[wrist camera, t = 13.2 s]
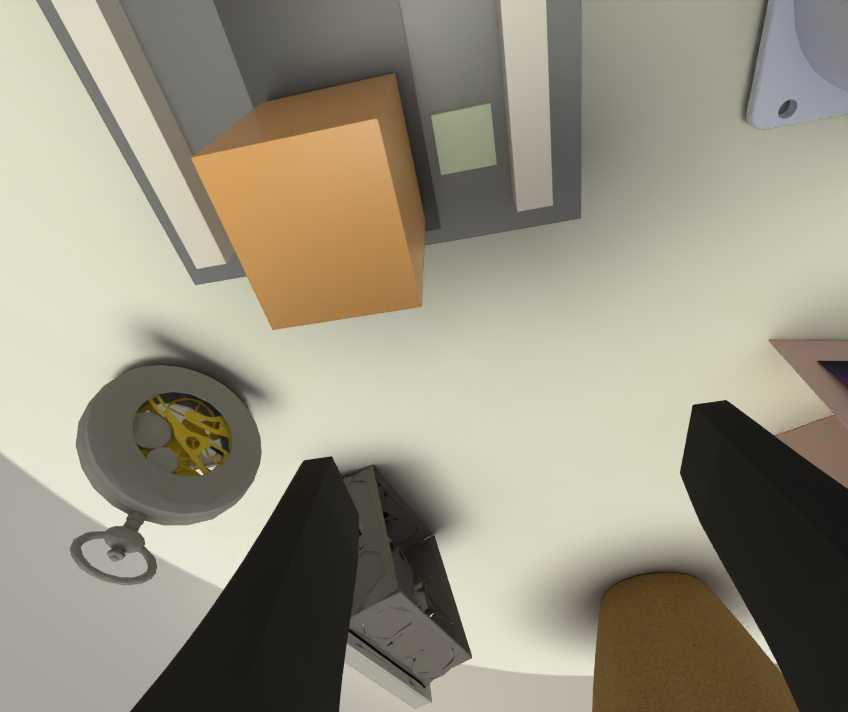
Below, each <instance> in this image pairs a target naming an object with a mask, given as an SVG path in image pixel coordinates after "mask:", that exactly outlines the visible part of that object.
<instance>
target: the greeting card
mask: <svg viewBox="0 0 848 712" xmlns="http://www.w3.org/2000/svg"><path fill="white" fill-rule="evenodd" d="M769 342H770V343H771V344H772V345H773V346H774V347H775V348H776V350H777V351H778V352H779V353H780V354H781V355H782V356H783V357H784V358H785V360H786V361H787V362H788V363H789V364H790V365H791V366H792V367H793V369H794V370H795V371H796V372H797V373H798V374H799V375H800V376H801V377H802V379H803V380H804V381H805V382H806V383H807V384H808V385H809V386H810V388H811V389H812V390H813V391H814V392H815V393H816V394H817V395H818V396H819V398H820V399H821V400H822V401H823V402H824V403H825V404H826V405H827V407H828V408H829V409H830V410H831V411H832V412H833V413H834V414H835V415H833V416H830V417H827V418H824V419H821V420H818V421H816V422H813V423H810V424H807V425H804V426H801V427H799V428H796V429H793V430H790V431H787V432H784V433H782V434H779V435H776V436H775V437H777V438H778V439H779V440H781V441H782V442H783V443H785V444H786V445H788V446H789V447H790V448H792V449H793V450H794V451H796V452H797V453H798V454H800V455H801V456H802V457H804V458H805V459H807V460H808V461H809V462H811V463H812V464H814V465H815V466H816V467H818V468H819V469H821V470H822V471H823V472H825V473H826V474H828V475H829V476H831V477H832V478H833V479H835V480H836V481H838V482H839V483H841V484H842V485H843V486H845V487H846V488H848V340H769Z"/></svg>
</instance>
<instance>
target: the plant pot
mask: <svg viewBox="0 0 848 712" xmlns="http://www.w3.org/2000/svg"><path fill="white" fill-rule="evenodd" d="M592 712H799V710H798V707H797V705H796V703H795V701H794V699H793V696H792V694H791V692H790V690H789V687H788V685H787V683H786V681H785V679H784V676H783V675H782V673H781V672H780V671H779V670H778V669H777V667H776V666H775V665H774V664H773V662H772V661H771V660H770V659H769V657H768V656H767V655H766V654H765V652H764V651H763V650H762V649H761V647H760V646H759V645H758V644H757V642H756V641H755V640H754V639H753V638H752V636H751V635H750V634H749V633H748V632H747V630H746V629H745V628H744V627H743V626H742V624H741V623H740V622H739V621H738V620H737V619H736V617H735V616H734V615H733V614H732V613H731V612H730V611H729V609H728V608H727V607H726V606H725V605H724V604H723V603H722V602H721V600H720V599H719V598H718V597H717V596H716V595H715V594H714V593H713V592H712V590H711V589H710V588H709V587H708V586H707V585H706V584H705V583H704V582H702V581H701V580H699V579H697V578H695V577H692V576H689V575H685V574H679V573H652V574H645V575H640V576H636V577H633V578H629V579H627V580H624V581H622V582H620V583H618V584H616V585H614V586H613V587H611V588H610V589H609V590H608V591H607V592H606V593H605V594H604V596H603V598H602V601H601V608H600V615H599V624H598V632H597V643H596V653H595V668H594V685H593V708H592Z"/></svg>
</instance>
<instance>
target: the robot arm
mask: <svg viewBox="0 0 848 712" xmlns="http://www.w3.org/2000/svg"><path fill="white" fill-rule="evenodd" d="M788 100H790V105H789V107H788V109H787V110H786V111H785V112H784V113H783V114H781V115H779V116H778V110H779V108H780V106H781V105H782V104H783V103H784V102H785V101H788ZM845 114H848V0H769V1H768V6H767V11H766V16H765V21H764V27H763V32H762V37H761V42H760V47H759V52H758V57H757V62H756V67H755V73H754V78H753V83H752V88H751V93H750V98H749V103H748V108H747V121H748V123H749V125H751V126H753V127H755V128H757V129H761V130H765V129H771V128H776V127H781V126H787V125H792V124H797V123H803V122H808V121H813V120H819V119H824V118H829V117H835V116H840V115H845ZM680 475H681V477H682V480H683V482H684V485H685V487H686V490H687V492H688V495H689V497H690V500H691V502H692V505H693V507H694V509H695V512H696V514H697V516H698V519H699V521H700V523H701V525H702V527H703V529H704V531H705V532H706V534H707V536H708V538H709V540H710V542H711V543H712V545H713V547H714V549H715V551H716V552H717V554H718V556H719V558H720V560H721V561H722V563H723V565H724V567H725V569H726V570H727V572H728V574H729V576H730V578H731V579H732V581H733V583H734V585H735V586H736V588H737V590H738V592H739V594H740V595H741V597H742V599H743V601H744V602H745V604H746V606H747V608H748V610H749V611H750V613H751V615H752V617H753V618H754V620H755V622H756V624H757V626H758V627H759V629H760V631H761V633H762V634H763V636H764V638H765V640H766V642H767V644H768V646H769V648H770V650H771V652H772V654H773V656H774V658H775V659H776V661H777V663H778V665H779V667H780V670H781V672H782V674H783V676H784V679H785V681H786V683H787V685H788V687H789V690H790V692H791V694H792V696H793V699H794V701H795V703H796V705H797V707H798V710H799V712H848V488H846V487H845V486H843V485H842V484H841V483H839V482H838V481H836V480H835V479H833V478H832V477H831V476H829V475H828V474H826V473H825V472H823V471H822V470H821V469H819V468H818V467H816V466H815V465H814V464H812V463H811V462H809V461H808V460H807V459H805V458H804V457H802V456H801V455H800V454H798V453H797V452H796V451H794V450H793V449H792V448H790V447H789V446H788V445H786V444H785V443H783V442H782V441H781V440H779V439H778V438H777V437H775V436H774V435H773V434H771V433H770V432H769V431H767V430H766V429H765V428H763V427H762V426H761V425H759V424H758V423H757V422H755V421H754V420H753V419H751V418H750V417H748V416H747V415H746V414H744V413H743V412H742V411H740V410H739V409H738V408H736V407H735V406H734V405H732V404H731V403H730V402H728V401H727V400H723V401H716V402H709V403H702V404H695V405H693V406H692V412H691V417H690V422H689V428H688V433H687V438H686V444H685V449H684V454H683V459H682V465H681V470H680ZM358 546H359V513H358V511H357V509H356V507H355V505H354V503H353V500H352V498H351V496H350V494H349V492H348V490H347V487H346V485H345V483H344V481H343V479H342V477H341V475H340V472H339V470H338V468H337V466H336V464H335V462H334V460H333V457H332V456H331V457H324V458H317V459H310V460H304V461H303V463H302V464H301V465H300V467H299V469H298V470H297V472H296V474H295V476H294V477H293V479H292V481H291V482H290V484H289V486H288V488H287V489H286V491H285V493H284V495H283V496H282V498H281V500H280V501H279V503H278V505H277V506H276V508H275V510H274V512H273V513H272V515H271V517H270V518H269V520H268V522H267V523H266V525H265V527H264V528H263V530H262V531H261V533H260V535H259V536H258V538H257V539H256V541H255V543H254V544H253V546H252V547H251V549H250V551H249V552H248V554H247V555H246V557H245V559H244V560H243V562H242V563H241V565H240V566H239V568H238V569H237V571H236V572H235V574H234V575H233V577H232V578H231V580H230V581H229V583H228V584H227V586H226V587H225V588H224V590H223V591H222V593H221V594H220V596H219V597H218V599H217V600H216V602H215V603H214V605H213V606H212V608H211V609H210V611H209V612H208V613H207V615H206V616H205V617H204V619H203V620H202V621H201V623H200V624H199V626H198V627H197V628H196V630H195V631H194V632H193V634H192V635H191V637H190V638H189V639H188V640H187V642H186V643H185V644H184V646H183V647H182V648H181V650H180V651H179V652H178V653H177V655H176V656H175V657H174V659H173V660H172V661H171V662H170V664H169V665H168V666H167V668H166V669H165V670H164V671H163V672H162V674H161V675H160V676H159V678H158V679H157V680H156V681H155V682H154V683H153V685H152V686H151V687H150V688H149V689H148V691H147V692H146V693H145V694H144V695H143V697H142V698H141V699H140V700H139V701H138V703H137V704H136V705H135V706H134V708H133V709H132V710H131V711H130V712H339V705H340V693H341V684H342V675H343V668H344V661H345V654H346V647H347V639H348V632H349V625H350V618H351V611H352V604H353V597H354V589H355V582H356V574H357V566H358Z"/></svg>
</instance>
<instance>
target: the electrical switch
mask: <svg viewBox="0 0 848 712" xmlns="http://www.w3.org/2000/svg"><path fill="white" fill-rule="evenodd" d="M343 481H344V483H345V485H346V487H347V490H348V492H349V494H350V496H351V498H352V500H353V503H354V505H355V507H356V509H357V511H358V513H359V546H358V566H357V574H356V582H355V589H354V597H353V604H352V611H351V618H350V625H349V632H348V639H347V647H346V654H345V661H344V662H345V663H346V664H348V665H349V666H351V667H352V668H354V669H355V670H357V671H359V672H360V673H361V674H363V675H365V676H366V677H367V678H369V679H371V680H372V681H374V682H375V683H377V684H378V685H380V686H381V687H383V688H384V689H386V690H387V691H389V692H390V693H392V694H393V695H395V696H396V697H398V698H399V699H401V700H402V701H404V702H406V703H407V704H408V705H410V706H411V707H413V708H415V709H416V708H418V707H421V706H423V705H426V704H428V703H432V697H431V690H430V683H431V682H432V681H433V679H436V678H438V677H440V676H443V675H444V674H445V673H446V672H448V671H449V670H450V669H451V668H453V667H455V666H457V665H459V664H461V663H463V662H465V661H467V660H469V659H472V655H471V651H470V648H469V645H468V642H467V639H466V635H465V632H464V629H463V626H462V623H461V619H460V616H459V613H458V610H457V606H456V603H455V600H454V597H453V594H452V590H451V587H450V584H449V581H448V578H447V574H446V571H445V568H444V565H443V561H442V558H441V555H440V552H439V549H438V545H437V542H436V539H435V536H434V535H433V536H431V535H432V533H431V531H430V530H429V529H428V528H427V527H426V526H425V525H424V523H423V522H422V521H421V520H420V519H419V518H418V517H417V515H416V514H415V513H414V512H413V511H412V510H411V509H410V507H409V506H408V505H407V504H406V503H405V502H404V501H403V499H402V498H401V497H400V496H399V495H398V494H397V493H396V492H395V490H394V489H393V488H392V487H391V486H390V485H389V484H388V482H387V481H386V480H385V479H384V478H383V477H382V476H381V474H380V473H379V472H378V471H377V470H376V469H375V468H374V466H373V465H371V466H370V467H368V468H366V469H364V470H362V471H361V472H359V473H357V474H355V475H353V476H350V477H347V478H344V479H343ZM377 483H380V484H381V485H378V484H377ZM385 493H386V497H385ZM382 501H383V502H382ZM383 512H386V513H387V514H388V516H387V517H386V518H385V519H384V517H383ZM395 519H398V520H395ZM412 520H413V521H412ZM415 532H416V533H415ZM429 536H431V537H429ZM427 537H429V538H427ZM426 538H427V539H426ZM424 539H425V540H424ZM422 540H423V541H422ZM433 613H434V614H433ZM431 614H433V615H432V616H431V617H430V615H431ZM452 623H453V624H452Z"/></svg>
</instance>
